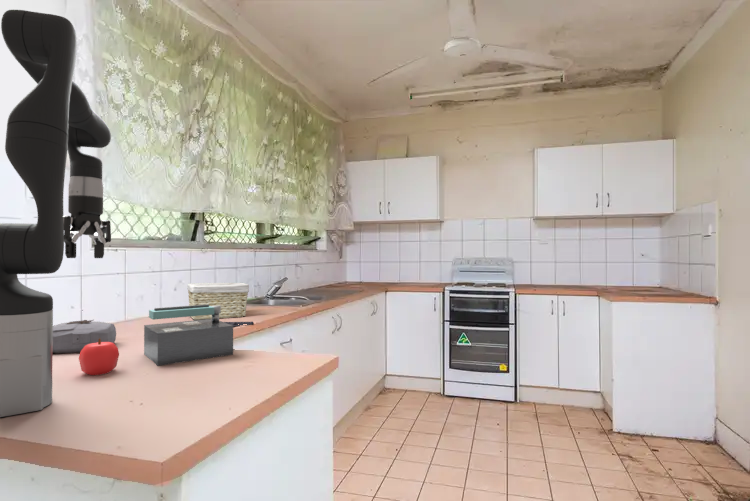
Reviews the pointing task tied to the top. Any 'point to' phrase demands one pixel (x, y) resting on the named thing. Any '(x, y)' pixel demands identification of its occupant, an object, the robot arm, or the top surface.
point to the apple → (98, 358)
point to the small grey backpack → (81, 335)
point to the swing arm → (183, 311)
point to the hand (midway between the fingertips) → (85, 258)
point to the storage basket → (220, 298)
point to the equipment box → (188, 340)
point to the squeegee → (239, 323)
